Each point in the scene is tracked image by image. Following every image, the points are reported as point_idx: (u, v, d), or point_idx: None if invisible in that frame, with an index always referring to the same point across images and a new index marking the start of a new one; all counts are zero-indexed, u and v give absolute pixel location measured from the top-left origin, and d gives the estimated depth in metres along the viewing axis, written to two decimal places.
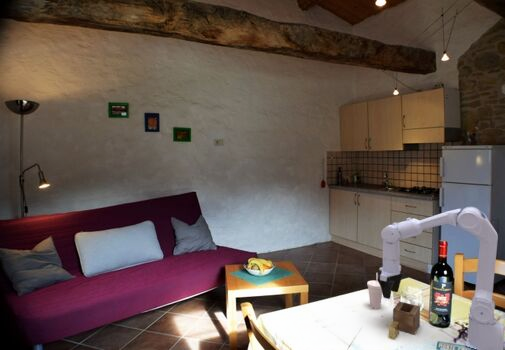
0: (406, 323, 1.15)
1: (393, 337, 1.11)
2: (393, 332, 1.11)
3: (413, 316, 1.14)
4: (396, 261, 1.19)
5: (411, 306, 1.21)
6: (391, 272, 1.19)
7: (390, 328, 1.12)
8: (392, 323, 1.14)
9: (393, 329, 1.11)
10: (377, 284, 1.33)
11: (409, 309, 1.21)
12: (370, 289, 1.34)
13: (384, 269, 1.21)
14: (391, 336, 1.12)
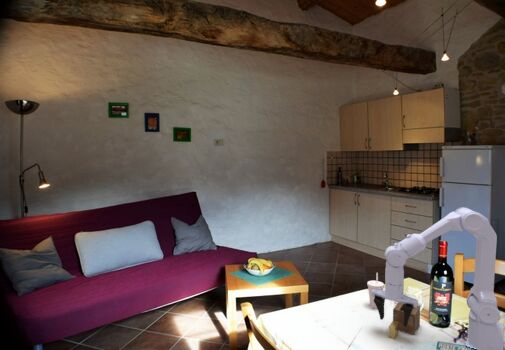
0: None
1: (393, 337, 1.11)
2: (393, 332, 1.11)
3: (413, 316, 1.14)
4: (387, 284, 1.12)
5: None
6: (384, 294, 1.14)
7: (390, 328, 1.12)
8: (392, 323, 1.14)
9: (393, 329, 1.11)
10: (377, 284, 1.33)
11: None
12: (370, 289, 1.34)
13: None
14: (391, 336, 1.12)
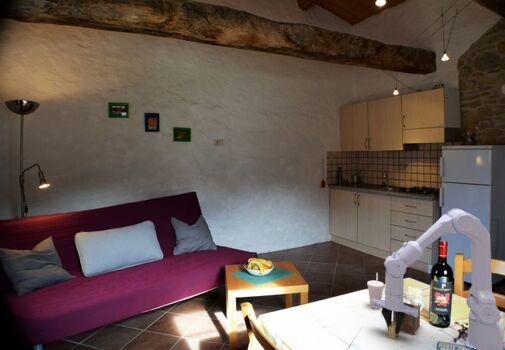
0: (406, 323, 1.15)
1: (393, 337, 1.11)
2: (393, 332, 1.11)
3: None
4: (387, 294, 1.12)
5: (411, 306, 1.21)
6: (384, 303, 1.14)
7: (390, 328, 1.12)
8: (392, 323, 1.14)
9: (393, 329, 1.11)
10: (377, 284, 1.33)
11: None
12: (370, 289, 1.34)
13: None
14: (391, 336, 1.12)
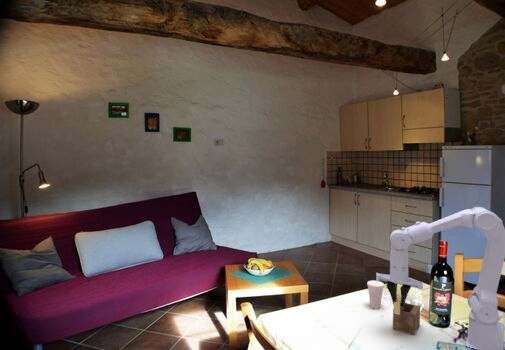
0: (406, 323, 1.15)
1: (398, 312, 1.13)
2: (398, 307, 1.13)
3: (413, 316, 1.14)
4: (392, 268, 1.13)
5: (411, 306, 1.21)
6: (389, 277, 1.15)
7: (395, 303, 1.13)
8: (397, 299, 1.15)
9: (398, 304, 1.12)
10: (377, 284, 1.33)
11: (409, 309, 1.21)
12: (370, 289, 1.34)
13: None
14: (396, 311, 1.13)
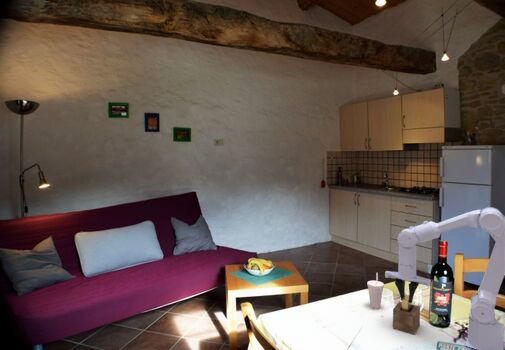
0: (406, 323, 1.15)
1: (406, 310, 1.16)
2: (406, 305, 1.16)
3: (413, 316, 1.14)
4: (401, 265, 1.17)
5: (411, 306, 1.21)
6: (398, 274, 1.19)
7: (403, 301, 1.17)
8: (405, 297, 1.19)
9: (406, 302, 1.16)
10: (377, 284, 1.33)
11: None
12: (370, 289, 1.34)
13: None
14: (404, 309, 1.17)
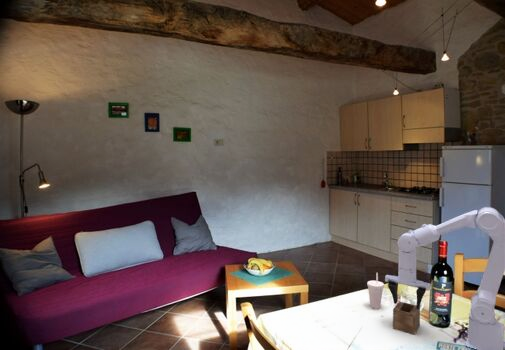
0: (406, 323, 1.15)
1: None
2: None
3: (413, 316, 1.14)
4: (401, 269, 1.17)
5: (411, 306, 1.21)
6: (398, 278, 1.19)
7: None
8: None
9: None
10: (377, 284, 1.33)
11: (409, 309, 1.21)
12: (370, 289, 1.34)
13: None
14: None
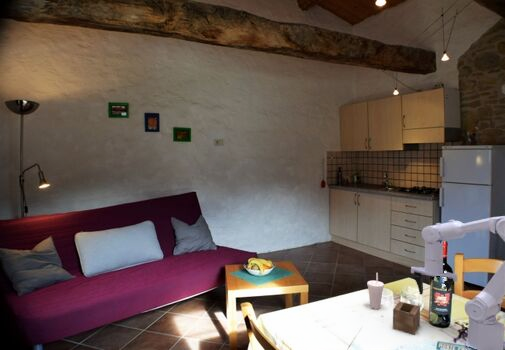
0: (406, 323, 1.15)
1: None
2: None
3: (413, 316, 1.14)
4: (427, 260, 1.18)
5: (411, 306, 1.21)
6: (424, 270, 1.20)
7: None
8: None
9: None
10: (377, 284, 1.33)
11: (409, 309, 1.21)
12: (370, 289, 1.34)
13: None
14: None
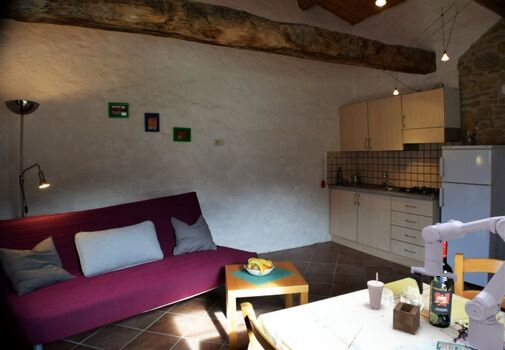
0: (406, 323, 1.15)
1: None
2: None
3: (413, 316, 1.14)
4: (427, 260, 1.18)
5: (411, 306, 1.21)
6: (424, 270, 1.20)
7: None
8: None
9: None
10: (377, 284, 1.33)
11: (409, 309, 1.21)
12: (370, 289, 1.34)
13: None
14: None
